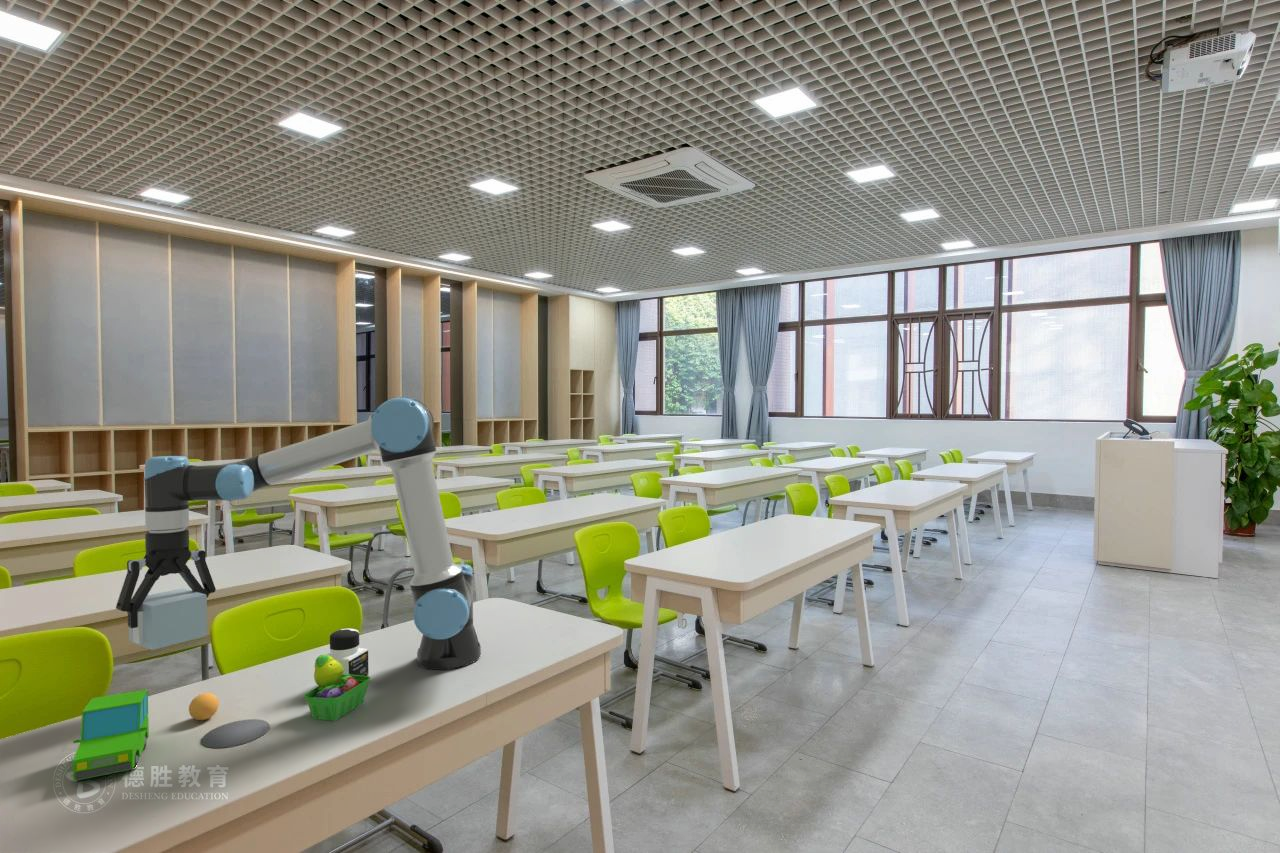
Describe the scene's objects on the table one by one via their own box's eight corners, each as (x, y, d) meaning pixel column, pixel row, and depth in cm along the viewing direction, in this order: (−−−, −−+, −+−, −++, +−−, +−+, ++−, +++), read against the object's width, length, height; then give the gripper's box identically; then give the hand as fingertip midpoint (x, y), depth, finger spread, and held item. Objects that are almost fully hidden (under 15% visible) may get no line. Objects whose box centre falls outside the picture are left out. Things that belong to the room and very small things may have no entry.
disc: (281, 728, 128) (281, 727, 128) (220, 753, 119) (220, 752, 119) (250, 715, 134) (250, 714, 134) (190, 738, 124) (190, 737, 124)
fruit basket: (335, 725, 130) (334, 667, 129) (297, 720, 132) (296, 663, 131) (372, 700, 141) (371, 647, 140) (336, 696, 143) (335, 644, 143)
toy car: (63, 792, 107) (61, 730, 107) (85, 755, 119) (84, 699, 119) (141, 775, 112) (140, 716, 112) (155, 741, 124) (154, 688, 123)
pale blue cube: (207, 635, 142) (206, 594, 142) (151, 650, 133) (151, 606, 133) (183, 627, 147) (183, 588, 147) (129, 641, 139) (128, 599, 138)
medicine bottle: (349, 692, 145) (348, 637, 145) (320, 689, 146) (319, 635, 146) (369, 679, 152) (368, 627, 152) (341, 677, 153) (340, 625, 153)
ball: (224, 716, 133) (223, 692, 133) (196, 727, 129) (196, 701, 129) (211, 711, 136) (210, 686, 136) (184, 720, 132) (183, 695, 132)
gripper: (216, 521, 151) (217, 618, 152) (93, 536, 132) (95, 647, 132) (233, 523, 147) (234, 623, 148) (109, 540, 128) (111, 654, 128)
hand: (168, 635), depth 140 cm, fingers closed on pale blue cube, 10 cm apart
